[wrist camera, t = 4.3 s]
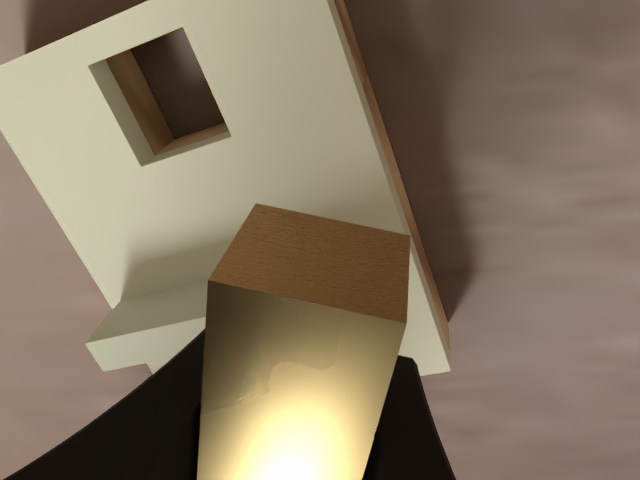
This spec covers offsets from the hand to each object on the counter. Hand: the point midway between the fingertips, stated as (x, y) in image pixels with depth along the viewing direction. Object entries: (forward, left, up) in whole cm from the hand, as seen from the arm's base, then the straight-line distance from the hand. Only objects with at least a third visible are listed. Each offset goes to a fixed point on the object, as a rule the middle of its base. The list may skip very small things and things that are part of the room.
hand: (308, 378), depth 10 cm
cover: (0, +4, -9) cm, 10 cm away
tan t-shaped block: (0, 0, -4) cm, 4 cm away
